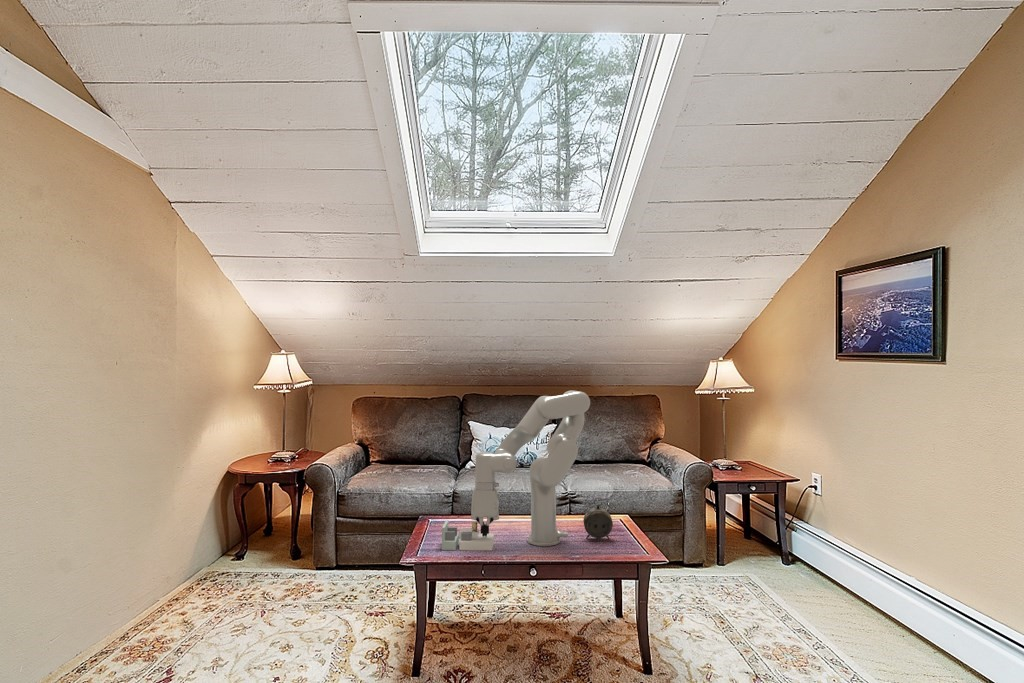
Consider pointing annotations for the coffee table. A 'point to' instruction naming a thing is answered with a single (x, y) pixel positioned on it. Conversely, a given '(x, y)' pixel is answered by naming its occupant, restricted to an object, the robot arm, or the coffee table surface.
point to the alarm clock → (598, 522)
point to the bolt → (471, 531)
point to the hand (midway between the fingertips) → (484, 535)
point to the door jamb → (449, 537)
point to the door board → (476, 542)
